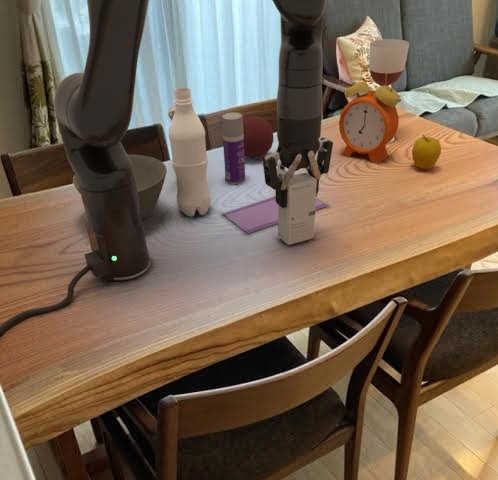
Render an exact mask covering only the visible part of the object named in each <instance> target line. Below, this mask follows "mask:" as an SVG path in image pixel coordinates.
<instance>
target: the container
mask: <svg viewBox="0 0 498 480" xmlns="http://www.w3.org/2000/svg"><path fill="white" fill-rule="evenodd" d="M243 119H244V118H243V114H242V113H240V112H226V113H223V114H222V116H221V120H222V121H221V123H222V145H223V160H224V161H223V163H224V175H225V178H224V179H225V182H226V184H229V185H241V184H243V183H245V181H246V164H245V163H246V159H245V158H246V157H245V156H244V134H243Z"/></svg>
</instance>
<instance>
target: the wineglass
mask: <svg viewBox="0 0 498 480" xmlns="http://www.w3.org/2000/svg"><path fill="white" fill-rule="evenodd" d="M409 48H410V43H409V41H407V40H403V39H398V38H382V39H381V38H380V39H376V40H372V41H371V42H369V54H368V68H369V69H368V71H369V74H370V78H371V79H372V81H373V82H374V83H375V84H377V85H378V86H379V87H381V86H384V85H385V82H386V86H389V87H390V86H391V85H393V84H394V83H396V82H397V81H399V79H400V78H401V76H402V74H403V72H404V70H405V67H406V63H407V59H408V58H407V57H408V55H409V54H408V53H409ZM370 70H373V71H370ZM376 71H380V72H376ZM383 72H386V73H387V77H386V73H383ZM395 138H396V137H395V136H394V137H393V139H392V140H391V141H390V142H388V143H387V144H389V143H392V142H394V140H395Z"/></svg>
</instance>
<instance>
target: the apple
mask: <svg viewBox="0 0 498 480" xmlns="http://www.w3.org/2000/svg"><path fill="white" fill-rule="evenodd" d="M441 153H442V146H441V143H440V141H439V140H438V139H437V138H434V137H432V136H431V137H430V136H425V135H424V134H422V137H419V138H417V139H416V140H415V142H414V144H413V146H412V149H411V155H412V156H411V157H412V160H413V163H414V166H415V167H416V168H420V169H421V170H429V169H431V168H432V167H433V166H434V165H435V164H436V163H437V162H438V161H439V158H440V156H441Z"/></svg>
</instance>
